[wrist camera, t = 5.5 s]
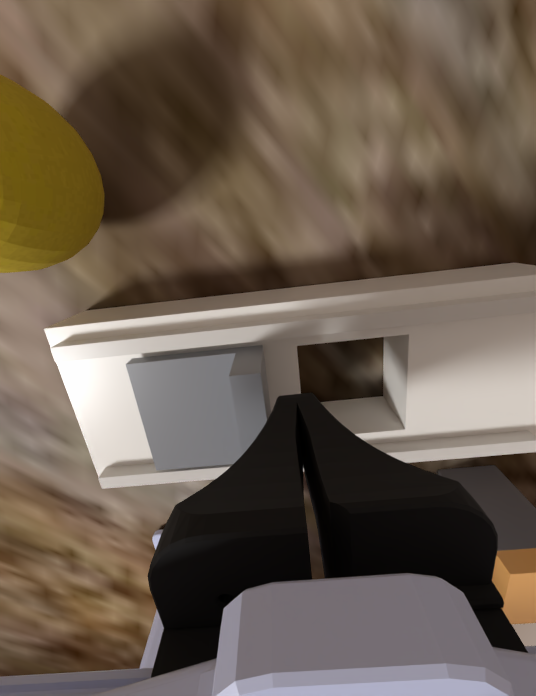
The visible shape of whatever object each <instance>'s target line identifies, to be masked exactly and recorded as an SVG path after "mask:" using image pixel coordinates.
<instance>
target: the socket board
mask: <svg viewBox="0 0 536 696" xmlns="http://www.w3.org/2000/svg"><path fill="white" fill-rule="evenodd" d="M44 330H45V333H46V336H47V338H48V341H49V344H50V347H51V348H50V349H51V352H52V355H53V357H54V360H55V362H56V363H57V365H58V368H59V371H60V374H61V376H62V379H63V382H64V384H65V387H66V390H67V393H68V395H69V398H70V401H71V403H72V406H73V409H74V412H75V414H76V417H77V420H78V422H79V425H80V428H81V431H82V433H83V436H84V439H85V441H86V444H87V447H88V449H89V452H90V455H91V458H92V460H93V463H94V466H95V468H96V471H97V474H98V477H99V478H98V479H99V482H100V484H101V487H102V489H104V488H116V487H128V486H140V485H151V484H163V483H175V482H187V481H199V480H211V479H217V478H218V477H219V476H220V475H222V474H223V473H224V472H225V471H226V470H228V469H229V468H230V467H231V466H232V465H233V464H226V465H215V466H203V467H192V468H180V469H169V470H157V471H156V468H155V464H154V461H153V457H152V454H151V451H150V447H149V444H148V440H147V437H146V433H145V430H144V426H143V423H142V419H141V416H140V413H139V409H138V406H137V402H136V399H135V395H134V392H133V388H132V385H131V381H130V378H129V374H128V371H127V368H126V364H127V363H128V362H129V361H130V360H131V359H132V358H141V357H150V356H160V355H170V354H179V353H189V352H199V351H208V350H218V349H228V348H237V347H247V346H256V345H263V351H264V359H265V367H266V375H267V383H268V391H269V398H270V406H271V412H272V410H273V408H274V405H275V403H276V399H277V398H278V397H279V396H282V395H293V394H301V388H300V376H299V365H298V354H297V346H301V345H311V344H320V343H330V342H340V341H350V340H359V339H369V338H379V337H384V356H383V396H379V397H369V398H358V399H348V400H337V401H326V402H321V404H322V405H323V406H324V407H325V408H326V409H327V410H328V411H329V412H330V413H331V414H332V415H333V416H334V417H335V418H336V419H337V420H338V421H339V422H340V423H341V424H343V425H344V426H345V427H346V428H347V429H349V430H350V431H351V432H352V433H354V434H355V435H356V436H358V437H359V438H361V439H362V440H364V441H365V442H367V443H368V444H370V445H372V446H373V447H375V448H377V449H379V450H381V451H382V452H384V453H386V454H388V455H390V456H392V457H394V458H396V459H398V460H401V461H403V462H405V463H412V462H424V461H436V460H448V459H460V458H471V457H483V456H495V455H507V454H519V453H531V452H536V265H528V264H521V263H506V264H497V265H488V266H480V267H471V268H462V269H453V270H444V271H435V272H426V273H417V274H408V275H399V276H390V277H381V278H372V279H363V280H354V281H345V282H336V283H327V284H318V285H310V286H301V287H292V288H283V289H274V290H265V291H256V292H247V293H238V294H229V295H220V296H211V297H202V298H193V299H184V300H175V301H166V302H157V303H148V304H140V305H131V306H122V307H113V308H104V309H95V310H86V311H83V312H81V313H79V314H76V315H74V316H72V317H70V318H67V319H65V320H63V321H60V322H58V323H56V324H54V325H51V326H49V327H47V328H45V329H44ZM303 472H304V468H303Z"/></svg>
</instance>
